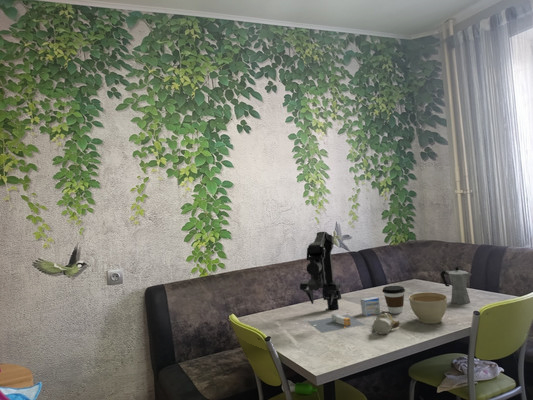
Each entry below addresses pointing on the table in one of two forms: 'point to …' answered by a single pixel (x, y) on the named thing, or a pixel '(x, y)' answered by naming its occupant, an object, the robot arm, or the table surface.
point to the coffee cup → (394, 298)
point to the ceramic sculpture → (384, 323)
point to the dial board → (333, 324)
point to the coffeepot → (457, 285)
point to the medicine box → (370, 306)
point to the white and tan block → (341, 319)
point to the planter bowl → (428, 306)
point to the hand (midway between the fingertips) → (321, 304)
